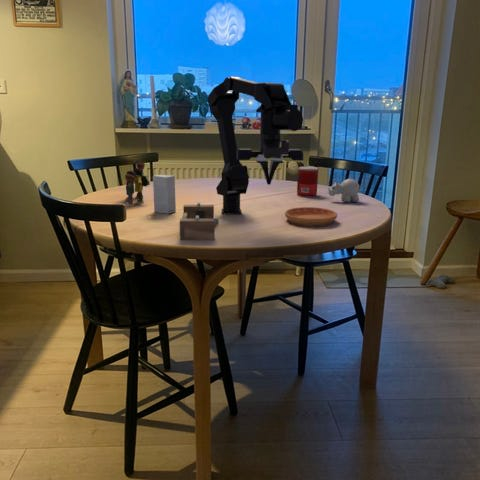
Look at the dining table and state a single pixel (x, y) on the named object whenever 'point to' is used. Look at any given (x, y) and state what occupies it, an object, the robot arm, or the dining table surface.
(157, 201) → the skincare box
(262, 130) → the robot arm
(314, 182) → the canned food
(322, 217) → the saucer
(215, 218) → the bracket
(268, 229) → the dining table surface
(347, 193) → the toy rhinoceros
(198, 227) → the open box
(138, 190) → the dark toy figure
